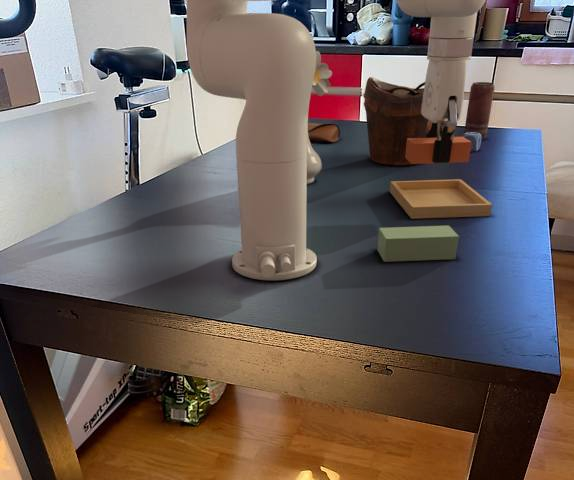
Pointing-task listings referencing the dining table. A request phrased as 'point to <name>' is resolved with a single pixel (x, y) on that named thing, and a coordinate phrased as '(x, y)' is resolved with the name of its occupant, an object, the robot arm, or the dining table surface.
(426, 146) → the pad terracotta
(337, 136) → the sunglasses case
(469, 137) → the decorative dice
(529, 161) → the dining table surface
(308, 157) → the flower vase
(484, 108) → the can
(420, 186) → the wooden tray
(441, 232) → the pad sage
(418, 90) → the wooden bucket
